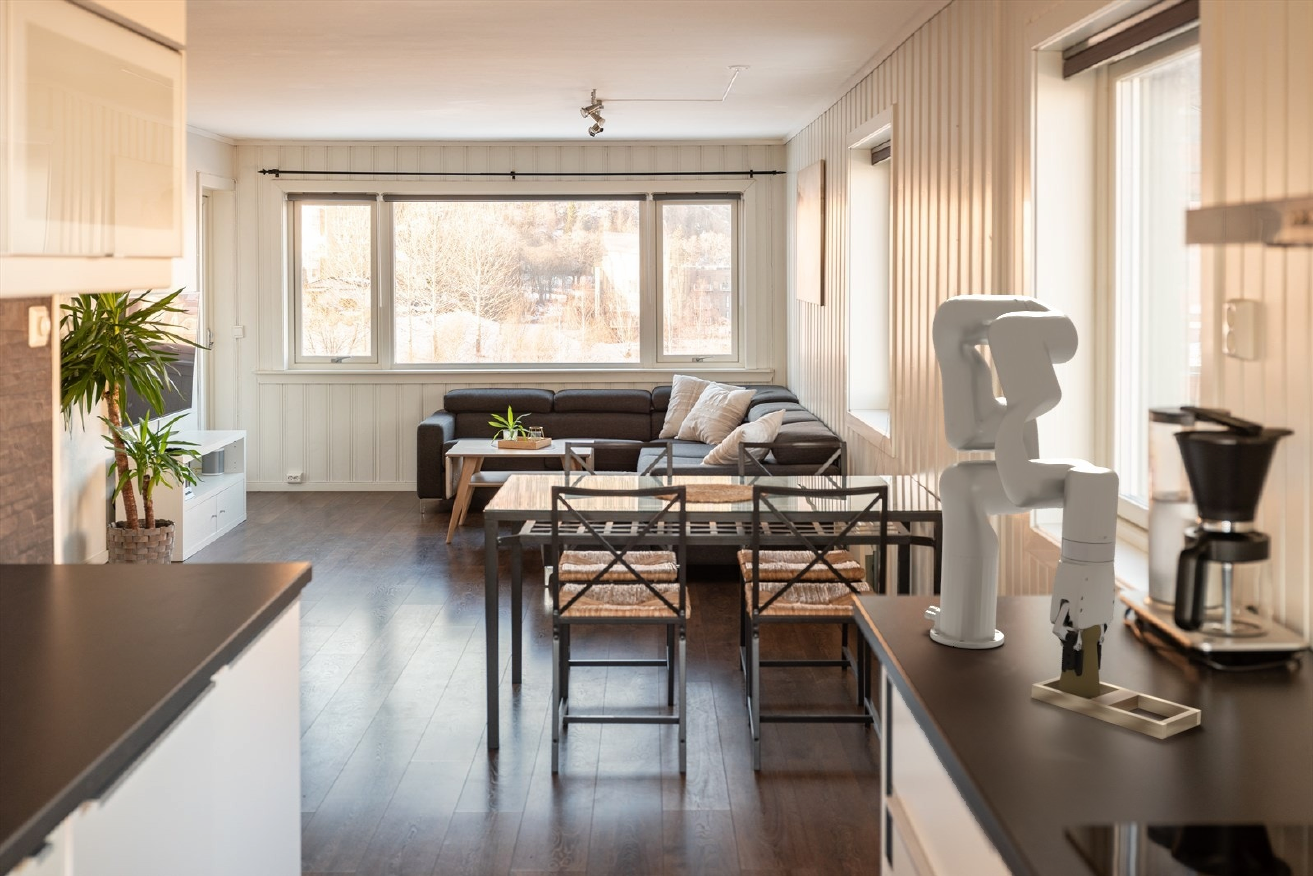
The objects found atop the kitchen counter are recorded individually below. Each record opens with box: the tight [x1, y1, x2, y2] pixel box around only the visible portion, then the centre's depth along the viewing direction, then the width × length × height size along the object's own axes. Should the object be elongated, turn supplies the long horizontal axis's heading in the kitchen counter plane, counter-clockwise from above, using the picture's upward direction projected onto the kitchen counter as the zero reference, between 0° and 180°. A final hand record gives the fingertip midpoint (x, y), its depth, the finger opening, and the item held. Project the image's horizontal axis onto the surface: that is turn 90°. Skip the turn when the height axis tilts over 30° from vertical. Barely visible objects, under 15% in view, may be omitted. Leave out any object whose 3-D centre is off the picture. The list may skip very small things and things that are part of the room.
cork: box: [1058, 622, 1101, 699], centre depth 179 cm, size 6×6×11 cm
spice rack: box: [1030, 675, 1202, 740], centre depth 175 cm, size 21×10×2 cm, turn 37°
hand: (1080, 669), depth 180 cm, fingers closed on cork, 3 cm apart
